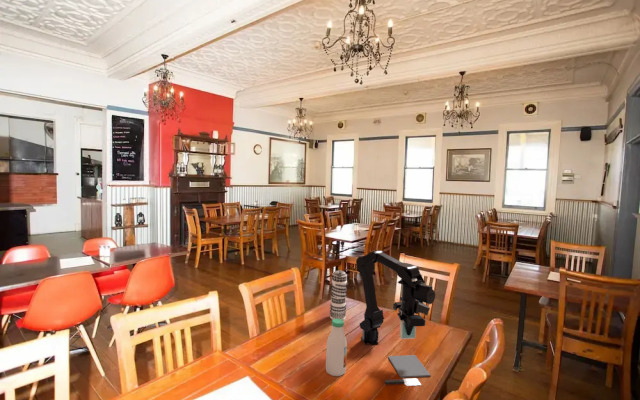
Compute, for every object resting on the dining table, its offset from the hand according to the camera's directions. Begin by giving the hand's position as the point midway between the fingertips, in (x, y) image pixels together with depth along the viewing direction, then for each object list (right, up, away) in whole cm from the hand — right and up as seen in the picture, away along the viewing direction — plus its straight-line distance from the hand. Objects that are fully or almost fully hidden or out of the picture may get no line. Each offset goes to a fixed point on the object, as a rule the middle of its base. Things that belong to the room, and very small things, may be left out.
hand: (407, 333), depth 134 cm
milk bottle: (-30, -12, -7) cm, 33 cm away
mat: (0, -12, -2) cm, 12 cm away
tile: (0, -2, 0) cm, 2 cm away
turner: (-5, -13, -13) cm, 19 cm away
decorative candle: (-26, -8, +41) cm, 50 cm away
